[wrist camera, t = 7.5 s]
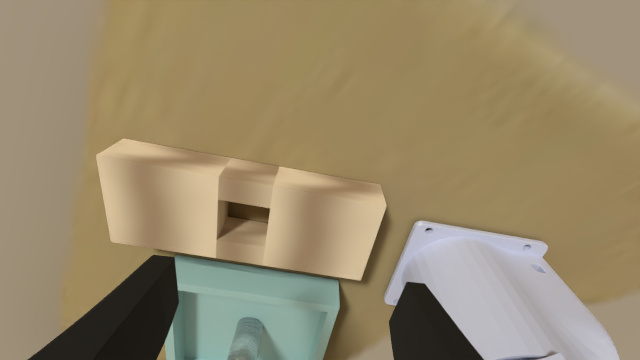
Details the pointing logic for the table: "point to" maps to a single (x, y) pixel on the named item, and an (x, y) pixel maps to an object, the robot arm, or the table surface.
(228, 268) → the tray
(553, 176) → the table surface
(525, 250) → the robot arm
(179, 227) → the beige slotted block
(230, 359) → the pin
